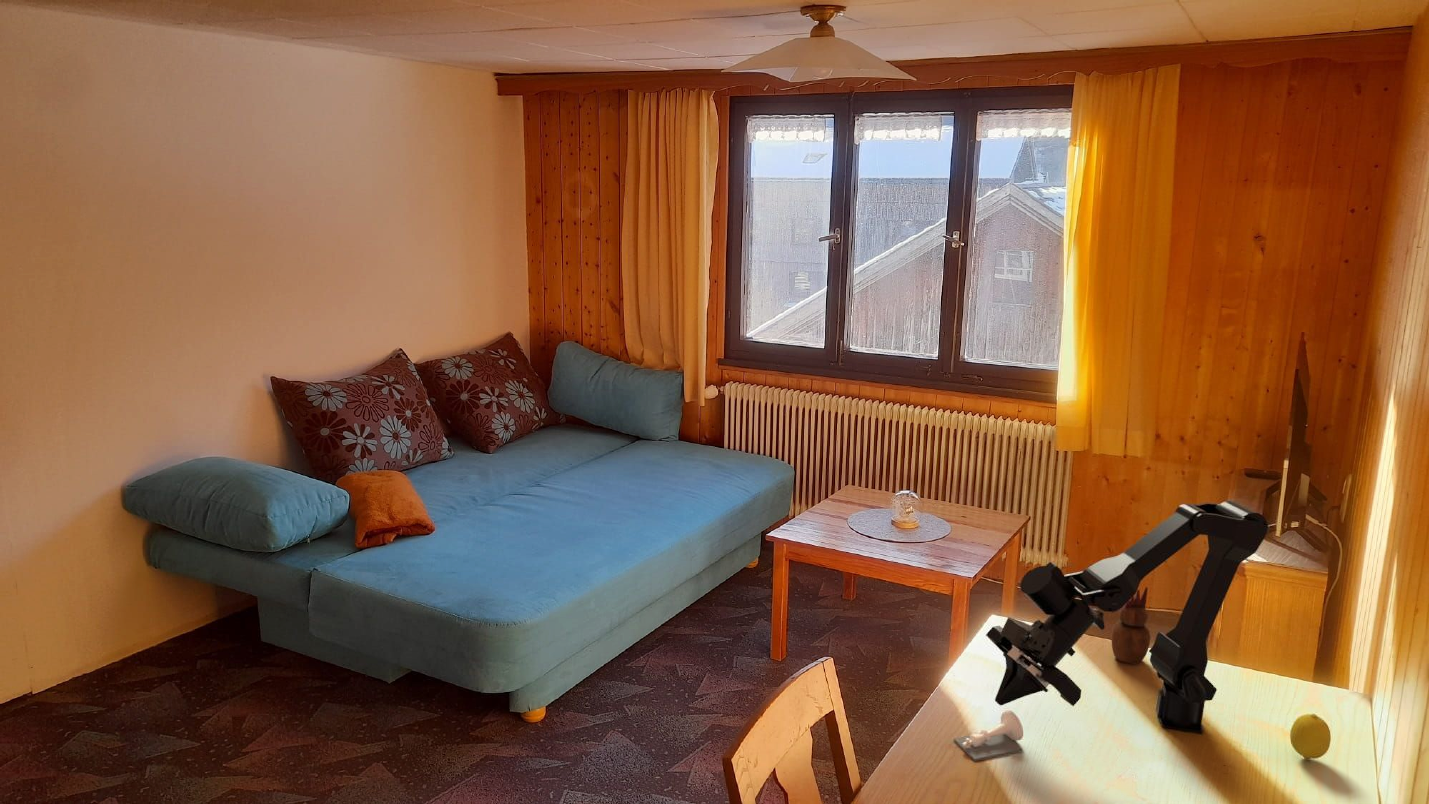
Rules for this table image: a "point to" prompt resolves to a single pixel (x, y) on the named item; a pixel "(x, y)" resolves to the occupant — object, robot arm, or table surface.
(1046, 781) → the table surface
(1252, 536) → the robot arm
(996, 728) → the chess piece
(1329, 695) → the table surface
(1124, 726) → the table surface
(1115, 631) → the wooden figurine
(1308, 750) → the lemon
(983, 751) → the slate mat
